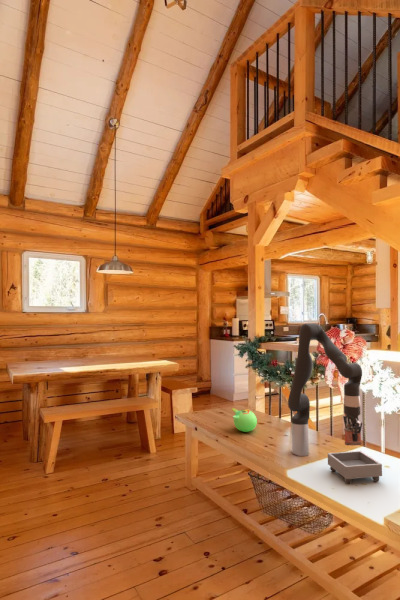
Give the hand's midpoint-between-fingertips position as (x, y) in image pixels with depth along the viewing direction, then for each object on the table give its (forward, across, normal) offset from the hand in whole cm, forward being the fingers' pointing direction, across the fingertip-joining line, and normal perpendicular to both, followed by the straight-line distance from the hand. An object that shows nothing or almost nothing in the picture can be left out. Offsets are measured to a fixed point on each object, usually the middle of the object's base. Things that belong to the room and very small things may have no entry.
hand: (352, 439), depth 191 cm
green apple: (+18, -81, -33) cm, 89 cm away
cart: (+17, 0, 0) cm, 17 cm away
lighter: (+2, 0, 0) cm, 2 cm away
